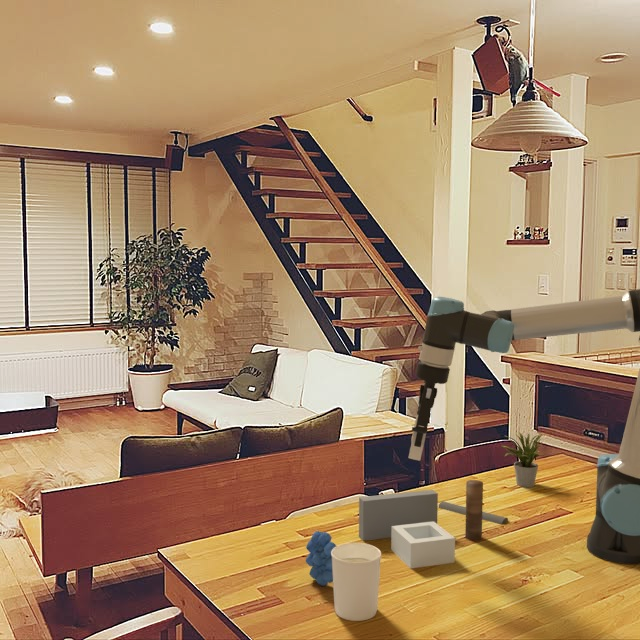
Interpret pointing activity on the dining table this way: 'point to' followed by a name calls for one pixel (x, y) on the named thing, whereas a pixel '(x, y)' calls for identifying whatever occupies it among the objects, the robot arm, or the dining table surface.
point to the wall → (395, 512)
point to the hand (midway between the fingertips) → (415, 450)
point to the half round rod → (462, 510)
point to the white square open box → (422, 544)
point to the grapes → (320, 557)
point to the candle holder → (356, 580)
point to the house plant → (525, 461)
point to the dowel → (474, 510)
